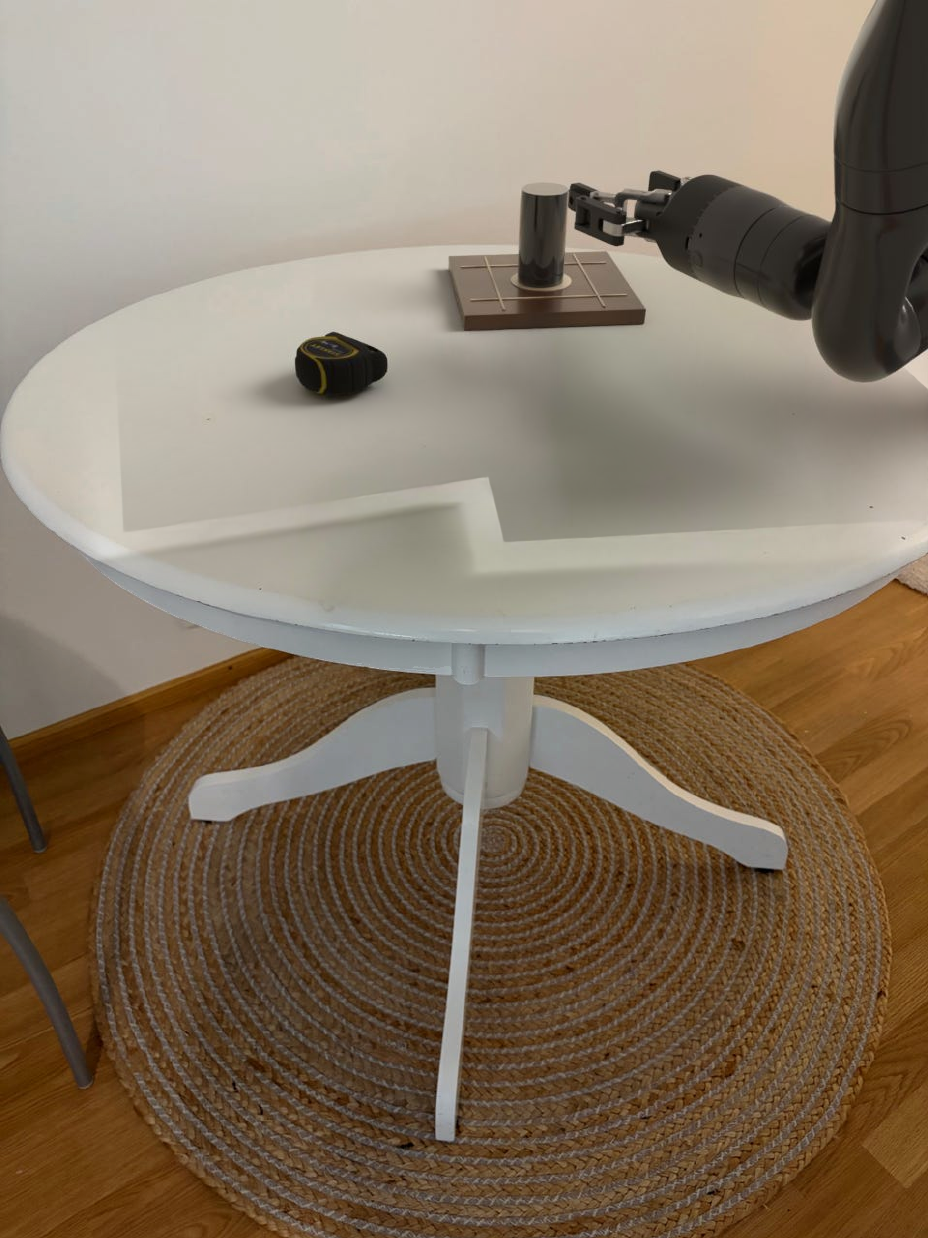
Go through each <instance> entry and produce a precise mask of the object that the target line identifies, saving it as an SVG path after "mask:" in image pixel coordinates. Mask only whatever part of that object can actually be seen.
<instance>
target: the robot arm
mask: <svg viewBox="0 0 928 1238" xmlns="http://www.w3.org/2000/svg"><path fill="white" fill-rule="evenodd" d="M832 153H833V154H832V155H833V156H832V158H833V162H832V163H833V190H834V192H833V193H834V212H833V215H832V219H831V220H830V219H827V218H824V217H822V216H819V215H816V214H815V213H811V212H809V211H806V210H802V209H800V208H797V207H794V206H792V205H790V204H789V203H786V202H785V201H783V200H782V199H781V198H778V197H776V196H774V195H772V194H770V193H768V192H764V191H761V190H758V189H755V188H753V187H750V186H747V185H744V184H741V183H739V182H736V181H733V180H730V179H729V178H728V179H727V178H726V177H725V178H724V177H723V176H719V175H716V174H701V175H697V176H695V177H691V176H684V177H678V176H675V175H672V174H670V173H667V172H665V171H662V170H659V169H658V170H652V171H650V173H649V176H648V177H649V178H648V188H647V190H643V189H633V188H621V190H620V191H618V192H616V193H613V192H604V191H600V190H598V189H596V188H593V187H591V186H589V185H586V184H584V183H582V182H573V183H571V184H570V186H569V195H568V210H571V211H572V212H574V213H575V217H574V227H573V229H574V230H576V231H578V232H579V233H583V234H585V235H586V236H590V237H592V238H594V239H596V240H598V241H600V242H604V243H606V244H608V245H610V246H613V247H621V246H624V245H625V239H626V238H625V237H632V238H640V239H643V240H644V241H646V242H647V243H652V244H653V243H655V244H656V245H657V247H658V249H659V251H660V253H661V256H662V258H663V260H664V261H665V262H666V263H667V265H668V266H670V268H672V269H673V270H675V271H678V272H679V273H682V274H683V275H686V276H687V277H690V278H692V279H694V280H696V281H698V282H700V283H703V284H705V285H707V286H709V287H711V288H712V289H715V290H717V291H719V292H721V293H723V294H726V295H728V296H731V297H735V298H738V299H743V300H746V301H748V302H749V303H752V304H754V305H756V306H758V307H760V308H762V309H764V310H767V311H769V312H771V313H773V314H775V315H777V316H780V317H782V318H784V319H788V320H791V321H798V322H805V321H810V322H811V330H812V336H813V339H814V343H815V346H816V349H817V351H818V353H819V355H820V356H821V359H822V360H823V361H824V363H825V364H826V365H827V366H828V367H829V368H830V369H831V371H833V372H834V373H835V374H837V375H838V376H840V377H841V378H844V379H845V380H848V381H851V382H854V383H864V384H865V383H866V384H867V383H873V382H877V381H880V380H881V381H882V380H883V379H886V378H887V377H889V376H892V375H893V374H894V373H896V372H898V371H899V370H901V369H902V368H903V367H905V366H906V365H908V364H909V363H910V362H912V361H913V360H914V359H916V358H917V357H919V356H920V355H922V354H923V353H925V351H927V350H928V0H875V1H874V3H873V5H872V7H871V8H870V11H869V13H868V14H867V16H866V19H865V20H864V23H863V24H862V26H861V28H860V30H859V32H858V34H857V35H856V38H855V40H854V42H853V44H852V46H851V49H850V50H849V53H848V55H847V57H846V60H845V62H844V64H843V68H842V70H841V74H840V77H839V81H838V85H837V89H836V93H835V98H834V104H833V113H832ZM629 200H630V201H636V202H635V204H634V212H633V216H632V217H629V216H628V205H629V203H628V202H629ZM607 203H608V204H607ZM610 204H612V205H610Z"/></svg>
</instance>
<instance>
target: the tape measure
mask: <svg viewBox="0 0 928 1238" xmlns="http://www.w3.org/2000/svg"><path fill="white" fill-rule="evenodd" d="M388 366H389V365H388V357H387V355H386V354H385V352H383V351H382V350H380V349H379V348H376V347H375V346H372V345H370V344H368V343H365V342H362V341H360V340H358V339H355V338H352V337H350V336H347V335H345V334H342V333H339V332H338V331H337V332H336V331H331V332H329V333H326V334H325V335H323V336H317V337H311V338H309V339H306V340H305V341H303V342H302V343H301V344H300V345H299V346H298V347H297V349H296V354H295V357H294V369H295V376H296V378H297V379H298V382H299V383H300V385H301V386H302V387H304V389H306V390H308V391H311V392H313V393H315V394H316V393H317V394H321V395H325V396H331V397H335V396H346V395H352V394H356V393H360V392H361V391H364V389H366V388H368V387H369V386H370V385H372V384H375V383H376V382H378V381H380V380H381V379H383V378H384V377H385V375H386V374H387V372H388Z"/></svg>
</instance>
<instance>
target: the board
mask: <svg viewBox="0 0 928 1238" xmlns="http://www.w3.org/2000/svg"><path fill="white" fill-rule="evenodd" d="M448 273H449V276H450V280H451V283H452V287H453V291H454V296H455V299H456V303H457V306H458V310H459V311H458V312H459V314H460V318H461V323H462V325H463V330H464V331H484V330H486V331H487V330H511V329H515V330H516V329H538V328H540V329H541V328H565V327H566V328H567V327H593V326H621V325H622V326H624V325H644V324H645V320H646V313H647V308H646V307H645V306H644V304H643V302H642V301H641V300H640V299H639V297H638V295H637V294H636V292H635V290H634V289H633V288H632V287H631V285H630V283H629V282H628V280H627V279H626V277H625V275H623V273H622V272H621V270H620V268H619V267H618V266H617V264H616V263H615V261H614V260H613V258H612V257H611V255H610V254H609V252H608V251H607V250H606V251H605V250H604V251H603V250H602V251H601V250H600V251H599V250H598V251H577V252H576V251H571V252H566V251H565V260H564V275H563V282H562V283H561V284H560V285H558V286H554V287H549V288H535V287H529V286H525V285H522V284H521V283H519V282H518V280H517V276H518V253H504V254H503V253H502V254H475V255H474V254H471V255H449V256H448Z"/></svg>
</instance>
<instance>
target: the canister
mask: <svg viewBox="0 0 928 1238" xmlns="http://www.w3.org/2000/svg"><path fill="white" fill-rule="evenodd" d="M569 189H570V187H568V186H566V185H564V184H559V183H555V182H533V183H528V184H524V185H522V186H521V187H520V197H519V223H518V224H519V225H518V252H517V254H518V276H517V280H518V282H519V283H521V284H522V285H525V286H529V287H535V288H549V287H554V286H558V285H560V284H561V283H562V282H563V275H564V260H565V253H566V243H567V228H568V212H569V208H568V195H569Z"/></svg>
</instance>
